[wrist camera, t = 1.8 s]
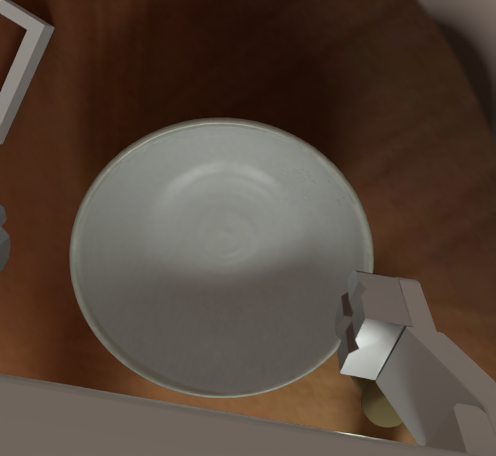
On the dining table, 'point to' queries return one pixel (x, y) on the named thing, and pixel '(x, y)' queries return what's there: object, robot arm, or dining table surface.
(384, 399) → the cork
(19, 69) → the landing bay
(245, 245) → the decorative bowl
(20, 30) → the dining table surface
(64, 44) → the dining table surface
